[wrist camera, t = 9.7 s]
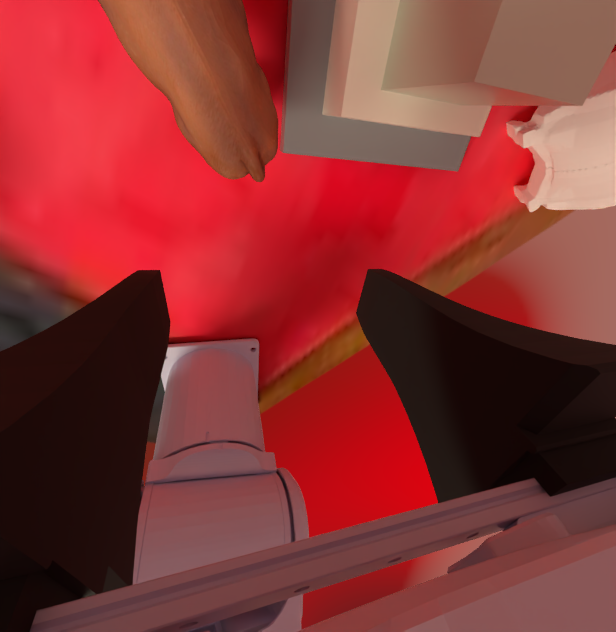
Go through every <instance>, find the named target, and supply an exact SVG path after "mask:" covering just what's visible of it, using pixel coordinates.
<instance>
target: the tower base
mask: <svg viewBox="0 0 616 632" xmlns="http://www.w3.org/2000/svg"><path fill="white" fill-rule="evenodd" d="M399 2H400V0H288V16H287V35H286V53H285V72H284V90H283V108H282V127H281V145H280V151H281V152H283V153H290V154H299V155H309V156H318V157H327V158H337V159H346V160H356V161H365V162H375V163H384V164H393V165H403V166H412V167H422V168H431V169H441V170H450V171H458V170H459V167H460V165H461V162H462V159H463V157H464V154H465V151H466V149H467V146H468V143H469V141H470V138H471V136H474V137H480V135H481V133H482V130H483V128H484V125H485V123H486V120H487V117H488V115H489V112H490V110H491V107H492V105H457V104H452V103H447V102H442V101H436V100H431V99H426V98H421V97H415V96H410V95H405V94H400V93H394V92H389V91H384V90H381V87H382V83H383V78H384V73H385V68H386V64H387V59H388V54H389V49H390V45H391V40H392V35H393V30H394V26H395V21H396V16H397V11H398V7H399Z"/></svg>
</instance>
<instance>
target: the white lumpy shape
mask: <svg viewBox="0 0 616 632" xmlns="http://www.w3.org/2000/svg"><path fill="white" fill-rule="evenodd" d="M506 124H507V134H508V136H509V137H511V138H512V139H513V140H514V142H515V143H516V144H518V145H520V146H521V147H523V148H528V149H529V150H530V152H532V154H533V159H534V161H535V165H534V168H533V171H532V173H531V176H530V179H529V182H528V184H526V185H524V186H522V185H520V186H518V185H515V186H514V193H515V196H516V197H517V198H518V199H519V200H520V202H521V203H525V204H526V206H527V208H528V210H529V211H530V212H533V211H535V210H537V209H538V208H539V207H540V206H541V205H543V206H544V207H545V208H547V209H553V210H586V209H593V210H595V209H599V208H607V207H609V206H616V51H615V52H612V53H611V54H610V55H609V57H608V59H607V61H606V63H605V65H604V67H603V68H602V70H601V72H600V74H599V76H598V78H597V80H596V81H595V83H594V85H593V87H592V89H591V91H590V93H589V94H588V96H587V98H586V100H585V102H584V104H583V106H538V108H537V109H536V111H535V112H534V114H533V116H532V118H531V120H530V121H528V122H523V121H515V120H513V121H509V122H507V123H506Z"/></svg>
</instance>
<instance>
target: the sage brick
mask: <svg viewBox="0 0 616 632" xmlns="http://www.w3.org/2000/svg"><path fill="white" fill-rule="evenodd" d="M615 44H616V0H400V2H399V7H398V11H397V16H396V21H395V26H394V30H393V35H392V40H391V45H390V49H389V54H388V59H387V64H386V68H385V73H384V78H383V83H382V87H381V90H384V91H389V92H394V93H400V94H405V95H410V96H415V97H421V98H426V99H431V100H436V101H442V102H447V103H452V104H457V105H494V106H583V104H584V102H585V100H586V98H587V96H588V94H589V93H590V91H591V89H592V87H593V85H594V83H595V81H596V80H597V78H598V76H599V74H600V72H601V70H602V68H603V67H604V65H605V63H606V61H607V59H608V57H609V55H610V54H611V52H612V50H613V48H614V46H615Z"/></svg>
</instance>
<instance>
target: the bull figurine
mask: <svg viewBox="0 0 616 632" xmlns="http://www.w3.org/2000/svg"><path fill="white" fill-rule="evenodd" d="M98 1H99V3H100V4H101V6H102V8H103V10H104V11H105V13H106V15H107V16H108V18H109V20H110V22H111V24H112V26H113V28H114V30H115V32H116V34H117V36H118V38H119V40H120V42H121V43H122V45H123V47H124V49H125V50H126V52H127V53H128V55H129V56H130V57H131V59H132V60H133V62H134V63H135V64H136V65H137V67H138V68H139V69H140V70H141V71H142V73H143V74H144V75H145V76H146V77H147V79H148V80H149V81H150V82H151V83H152V84H153V85H154V86H155V87H157V88H158V89H159V90H160V91H161V92H162V93H163V94H164V95H165V96H166V97H167V98H168V100H169V101H170V103H171V105H172V107H173V111H174V115H175V120H176V122H177V125H178V127H179V129H180V130H181V132H182V134H183V135H184V137H185V138H186V139H187V140H188V142H189V143H190V144H191V145H192V146H193V147H194V148H195V149H196V150H197V151H198V152H199V153H200V154H201V156H202V157H203V158H204V159H205V161H206V162H207V163H208V164H209V165H210V166H211V167H212V168H213V169H214V170H215V171H216V172H218V173H219V174H220V175H222V176H223V177H225V178H229V179H238V178H242V177H244V176H246V175H247V174H248V173H249V174H250V175H251V176H252V178H253V179H254V180H255V181H257V182H262V181H263V180H264V178H265V165H266V164H267V163H268V162H269V161H271V160H272V159H273V158H274V157H275V155H276V152H277V149H278V118H277V112H276V109H275V106H274V104H273V101H272V97H271V93H270V89H269V85H268V82H267V79H266V76H265V74H264V72H263V71H262V69H261V67H260V66H259V64H258V63H257V62H256V58H255V54H254V50H253V46H252V42H251V39H250V35H249V31H248V24H247V18H246V13H245V9H244V5H243V2H242V0H98Z"/></svg>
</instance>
